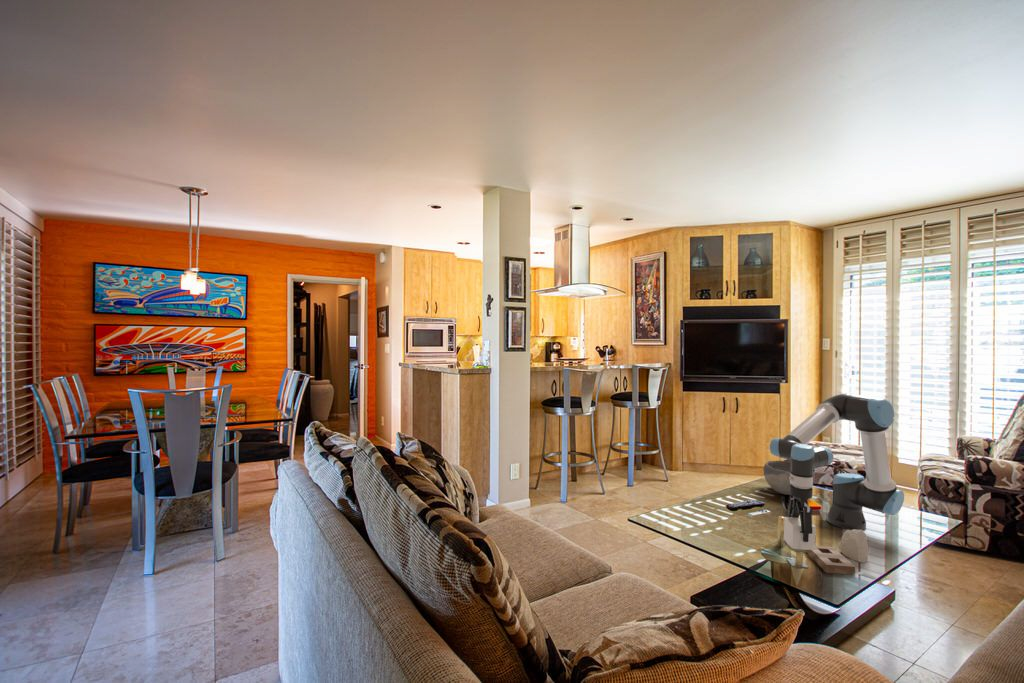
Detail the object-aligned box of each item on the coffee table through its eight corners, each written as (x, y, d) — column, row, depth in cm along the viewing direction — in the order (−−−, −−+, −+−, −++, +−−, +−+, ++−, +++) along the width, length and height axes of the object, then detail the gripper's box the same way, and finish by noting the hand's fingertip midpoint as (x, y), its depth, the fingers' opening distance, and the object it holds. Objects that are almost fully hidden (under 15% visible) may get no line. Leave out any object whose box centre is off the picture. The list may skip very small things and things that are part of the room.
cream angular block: (801, 561, 194) (802, 547, 194) (808, 568, 189) (809, 554, 189) (786, 559, 195) (787, 546, 195) (792, 566, 190) (793, 552, 189)
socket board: (806, 552, 202) (806, 545, 202) (833, 554, 200) (833, 547, 200) (825, 572, 186) (826, 564, 186) (854, 574, 185) (855, 566, 184)
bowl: (771, 498, 263) (772, 470, 262) (756, 483, 287) (757, 458, 286) (821, 502, 259) (823, 474, 258) (802, 487, 283) (804, 461, 282)
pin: (782, 544, 209) (784, 516, 208) (785, 547, 206) (786, 518, 206) (776, 543, 209) (777, 515, 209) (778, 546, 207) (779, 518, 206)
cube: (805, 540, 195) (806, 518, 195) (815, 550, 187) (815, 526, 187) (783, 539, 196) (784, 516, 196) (792, 548, 188) (793, 525, 188)
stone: (837, 552, 202) (838, 524, 202) (846, 551, 204) (848, 523, 204) (862, 564, 193) (864, 535, 192) (872, 562, 194) (873, 533, 194)
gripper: (779, 476, 201) (778, 531, 203) (802, 495, 181) (800, 556, 182) (799, 477, 200) (797, 532, 202) (825, 496, 180) (822, 557, 181)
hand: (799, 543), depth 192 cm, fingers closed on cube, 8 cm apart
